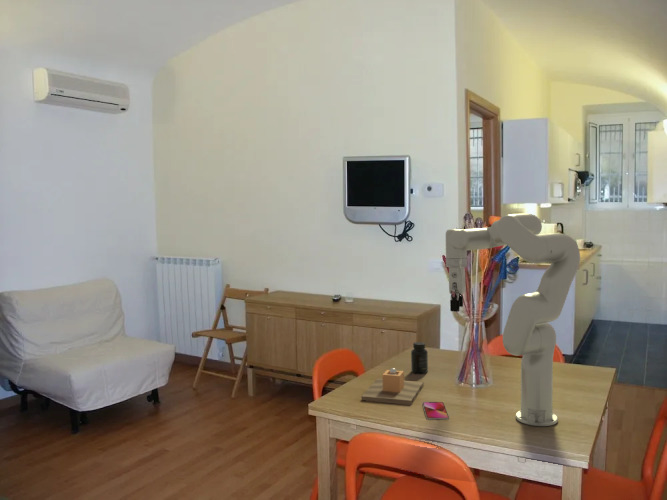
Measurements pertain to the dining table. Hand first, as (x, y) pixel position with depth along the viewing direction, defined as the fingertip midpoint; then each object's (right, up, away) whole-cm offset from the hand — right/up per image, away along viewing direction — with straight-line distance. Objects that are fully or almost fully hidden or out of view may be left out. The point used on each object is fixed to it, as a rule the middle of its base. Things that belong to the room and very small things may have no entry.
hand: (456, 308), depth 218 cm
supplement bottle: (-10, -29, +26) cm, 40 cm away
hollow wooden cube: (-23, -30, 0) cm, 38 cm away
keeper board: (-23, -31, 0) cm, 39 cm away
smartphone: (-11, -33, -20) cm, 40 cm away
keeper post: (-23, -30, 0) cm, 38 cm away
